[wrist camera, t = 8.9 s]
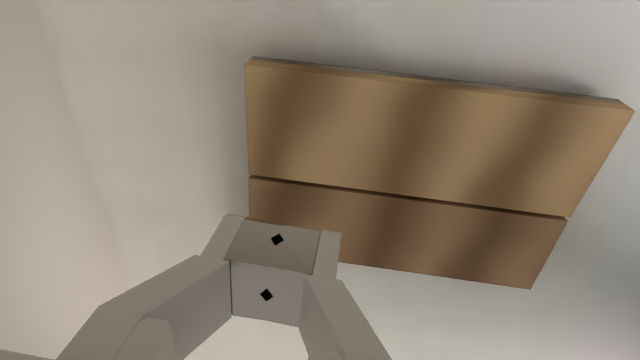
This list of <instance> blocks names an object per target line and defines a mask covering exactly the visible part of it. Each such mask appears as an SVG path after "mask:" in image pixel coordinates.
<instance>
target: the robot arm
mask: <svg viewBox="0 0 640 360" xmlns="http://www.w3.org/2000/svg"><path fill="white" fill-rule="evenodd" d="M340 242H341V233H340V232H334V231H327V230H322V231H321V230H317V229H311V228H305V227H298V226H292V225H286V224H281V223H276V222H270V221H265V220H260V219H254V218H249V217H242V216H237V215H231V214H227V215H226V216H224V217H223V219H222V221H221V222H220V224H219V226H218V228H217V229H216V231H215V233H214V234H213V236H212V238H211V239H210V241H209V243H208V244H207V246H206V248H205V249H204V251H203V253H202V254H201V256H197V255H194V256H192V257H190V258H188V259H186V260H185V261H183V262H181V263H179V264H177V265H175V266H173V267H171V268H170V269H168V270H166V271H164V272H162V273H160V274H158V275H156V276H155V277H153V278H151V279H149V280H147V281H145V282H143V283H141V284H140V285H138V286H136V287H134V288H132V289H130V290H128V291H126V292H125V293H123V294H121V295H119V296H117V297H115V298H113V299H111V300H110V301H108V302H106V303H104V304H102V305H100V306H99V307H98V308H97V309H96V310H95V311H94V313H93V314H92V315H91V317H90V318H89V319H88V320H87V321H86V323H85V324H84V325H83V326H82V328H81V329H80V330H79V332H78V333H77V334H76V335H75V337H74V338H73V339H72V340H71V341H70V343H69V344H68V345H67V346H66V348H65V349H64V350H63V351H62V352H61V354H60V355H59V356H58V358H57V359H56V360H183V359H184V358H185V357H187V356H188V355H189V354H190V353H191V352H192V351H193V350H195V349H196V348H197V347H198V346H199V345H200V344H201V343H203V342H204V341H205V340H206V339H207V338H208V337H209V336H211V335H212V334H213V333H214V332H215V331H216V330H217V329H219V328H220V327H221V326H222V325H223V324H224V323H225V322H227V321H228V320H229V319H230V318H231V315H234V316H241V317H247V318H254V319H260V320H266V321H271V322H276V323H281V324H285V325H290V326H295V327H299V331H300V333H301V336H302V339H303V341H304V344H305V347H306V350H307V352H308V355H309V357H308V360H392V359H391V358H390V356H389V355H388V353H387V351H386V350H385V348H384V347H383V345H382V343H381V342H380V340H379V339H378V337H377V336H376V334H375V332H374V331H373V329H372V328H371V326H370V325H369V323H368V321H367V320H366V318H365V317H364V315H363V313H362V312H361V310H360V309H359V307H358V306H357V304H356V302H355V301H354V299H353V298H352V296H351V295H350V293H349V291H348V290H347V288H346V287H345V285H344V283H343V282H342V281H341V280H336V273H337V265H338V257H339V249H340ZM0 360H52V359H48V358H43V357H38V356H33V355H27V354H22V353H17V352H12V351H7V350H2V349H0Z"/></svg>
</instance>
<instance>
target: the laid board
mask: <svg viewBox="0 0 640 360" xmlns="http://www.w3.org/2000/svg"><path fill="white" fill-rule="evenodd" d="M249 218H254V219H260V220H265V221H270V222H276V223H281V224H286V225H292V226H298V227H305V228H311V229H317V230H321V231H322V230H327V231H334V232H340V233H341V242H340V249H339V257H338V262H343V263H350V264H357V265H364V266H371V267H378V268H385V269H392V270H399V271H406V272H413V273H420V274H427V275H433V276H440V277H447V278H454V279H461V280H468V281H475V282H482V283H489V284H496V285H503V286H510V287H517V288H524V289H531V287H532V285H533V284H534V282H535V280H536V278H537V276H538V275H539V273H540V271H541V269H542V267H543V265H544V264H545V262H546V260H547V258H548V256H549V255H550V253H551V251H552V249H553V247H554V245H555V244H556V242H557V240H558V238H559V236H560V235H561V233H562V231H563V229H564V227H565V226H566V224H567V222H568V221H567V220H566V218H565V217H563V216H556V215H548V214H541V213H533V212H526V211H518V210H511V209H503V208H496V207H488V206H481V205H473V204H466V203H458V202H451V201H444V200H436V199H429V198H421V197H414V196H406V195H399V194H391V193H384V192H376V191H369V190H361V189H354V188H346V187H339V186H331V185H324V184H317V183H309V182H302V181H294V180H287V179H279V178H272V177H264V176H257V175H250V177H249Z"/></svg>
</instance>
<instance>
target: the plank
mask: <svg viewBox="0 0 640 360" xmlns="http://www.w3.org/2000/svg"><path fill="white" fill-rule="evenodd" d="M245 85H246V113H247V140H248V168H249V175H257V176H264V177H272V178H279V179H287V180H294V181H302V182H309V183H317V184H324V185H331V186H339V187H346V188H354V189H361V190H369V191H376V192H384V193H391V194H399V195H406V196H414V197H421V198H429V199H436V200H444V201H451V202H458V203H466V204H473V205H481V206H488V207H496V208H503V209H511V210H518V211H526V212H533V213H541V214H548V215H556V216H563V217H571V215H572V213H573V212H574V210H575V208H576V207H577V205H578V204H579V202H580V200H581V199H582V197H583V195H584V194H585V192H586V191H587V189H588V187H589V186H590V184H591V182H592V181H593V179H594V178H595V176H596V174H597V173H598V171H599V169H600V168H601V166H602V165H603V163H604V161H605V160H606V158H607V156H608V155H609V153H610V152H611V150H612V148H613V147H614V145H615V143H616V142H617V140H618V139H619V137H620V135H621V134H622V132H623V130H624V129H625V127H626V126H627V124H628V122H629V121H630V119H631V117H632V116H633V114H634V113H635V111H634V110H633V109H631V108H630V107H628V106H627V105H626V104H624V103H623V102H621V101H620V100H618V99H612V98H603V97H595V96H586V95H578V94H569V93H561V92H552V91H544V90H535V89H527V88H518V87H510V86H501V85H493V84H484V83H476V82H467V81H459V80H450V79H442V78H433V77H424V76H416V75H407V74H399V73H390V72H382V71H373V70H365V69H356V68H348V67H339V66H331V65H322V64H314V63H305V62H297V61H288V60H280V59H271V58H263V57H254V56H253V57H252V58H251V59H250V60H249V61H248V62H247V63H246V64H245Z"/></svg>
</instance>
